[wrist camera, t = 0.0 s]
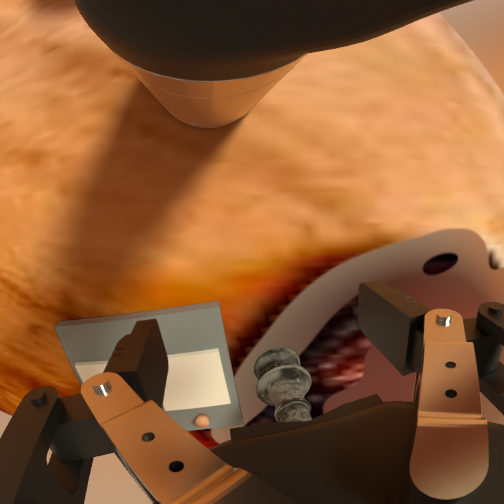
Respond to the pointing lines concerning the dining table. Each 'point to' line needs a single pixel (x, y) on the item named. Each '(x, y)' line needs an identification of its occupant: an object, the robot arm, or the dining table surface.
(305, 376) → the salt shaker
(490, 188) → the dining table surface
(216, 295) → the dining table surface
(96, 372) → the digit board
